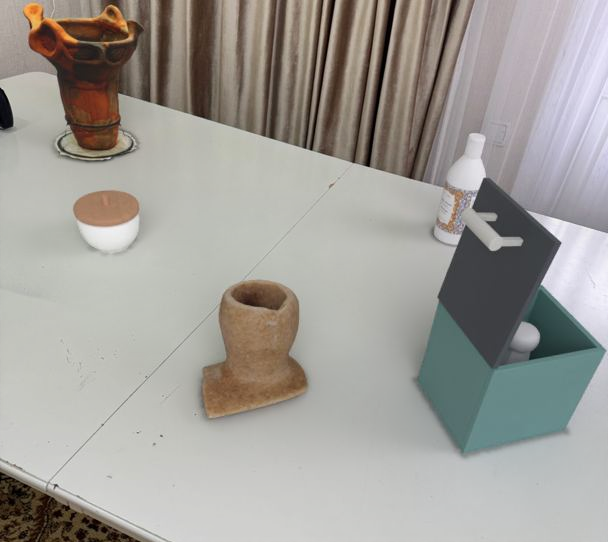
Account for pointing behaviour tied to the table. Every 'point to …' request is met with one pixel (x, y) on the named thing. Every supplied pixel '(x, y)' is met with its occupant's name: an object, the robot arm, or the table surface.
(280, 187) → the table surface
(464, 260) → the dark gray box lid
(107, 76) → the decorative vase
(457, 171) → the bath foam
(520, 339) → the salt shaker
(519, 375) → the teal storage box
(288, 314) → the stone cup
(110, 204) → the trinket box
